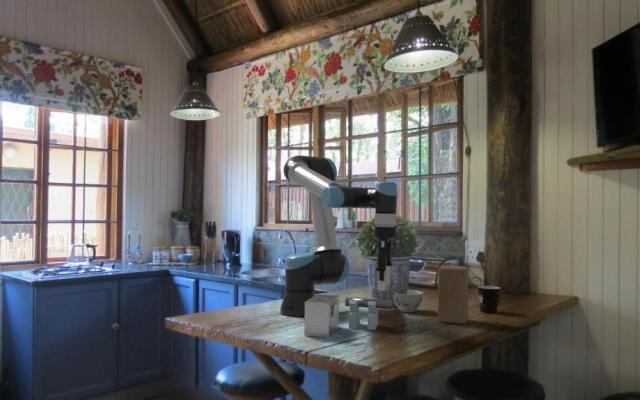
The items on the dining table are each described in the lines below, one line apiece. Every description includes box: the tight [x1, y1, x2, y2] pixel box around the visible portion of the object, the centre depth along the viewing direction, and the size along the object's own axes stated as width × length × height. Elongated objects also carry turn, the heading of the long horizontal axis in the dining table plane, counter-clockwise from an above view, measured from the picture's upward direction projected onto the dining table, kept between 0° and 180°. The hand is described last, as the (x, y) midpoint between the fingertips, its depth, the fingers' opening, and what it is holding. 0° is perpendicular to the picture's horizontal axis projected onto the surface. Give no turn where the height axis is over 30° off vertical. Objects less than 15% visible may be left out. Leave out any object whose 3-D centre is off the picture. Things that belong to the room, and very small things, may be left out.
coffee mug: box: [477, 285, 501, 314], centre depth 206 cm, size 12×9×10 cm
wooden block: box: [437, 265, 469, 325], centre depth 189 cm, size 10×10×20 cm
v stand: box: [348, 296, 379, 331], centre depth 178 cm, size 9×9×10 cm
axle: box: [344, 297, 393, 310], centre depth 177 cm, size 16×3×3 cm, turn 77°
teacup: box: [393, 289, 424, 313], centre depth 208 cm, size 15×12×8 cm
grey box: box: [303, 293, 340, 338], centre depth 170 cm, size 8×16×11 cm, turn 166°
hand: (383, 287), depth 177 cm, fingers open, 13 cm apart
